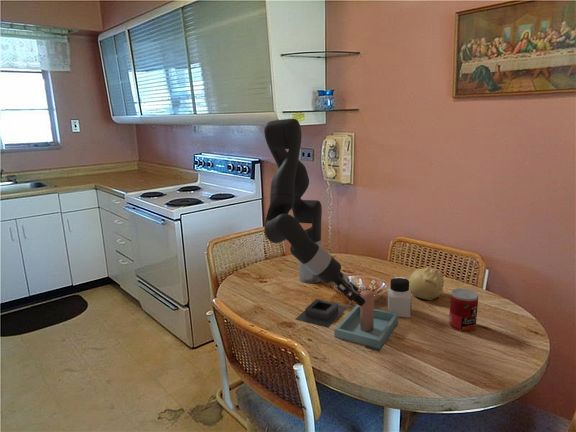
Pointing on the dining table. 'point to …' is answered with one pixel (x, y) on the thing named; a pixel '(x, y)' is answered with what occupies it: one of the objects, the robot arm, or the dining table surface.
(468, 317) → the canned food
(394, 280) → the medicine bottle
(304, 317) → the holder
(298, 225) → the robot arm
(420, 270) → the pale yellow round lump
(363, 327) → the dowel
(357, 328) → the tray
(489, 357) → the dining table surface
